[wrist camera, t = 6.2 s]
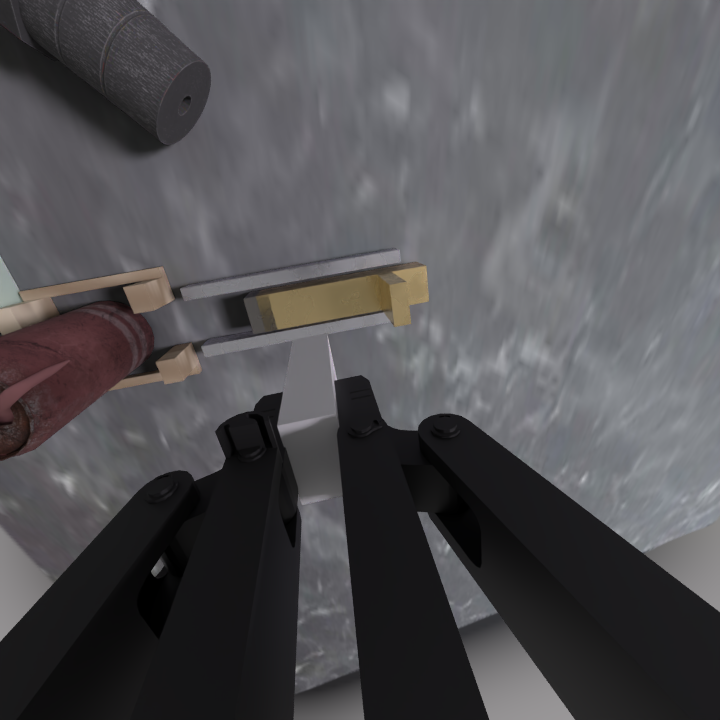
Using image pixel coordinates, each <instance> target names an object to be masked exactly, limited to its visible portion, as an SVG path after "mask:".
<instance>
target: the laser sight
mask: <svg viewBox="0 0 720 720" xmlns="http://www.w3.org/2000/svg"><path fill="white" fill-rule="evenodd" d="M0 24H1V25H3V26H4V27H5V28H6V29H8V30H9V31H10V32H11V33H13V34H14V35H15V36H17V37H18V38H19V39H20V40H22V41H23V42H25V43H26V44H28V45H30V46H31V47H33V48H34V49H36V50H38V51H39V52H41V53H43V54H44V55H46V56H47V57H49V58H51V59H52V60H54V61H56V60H59V61H61V62H62V63H63V64H64V65H65V66H67V67H68V68H69V69H70V70H71V71H73V72H74V73H75V74H77V75H78V76H79V77H80V78H82V79H83V80H84V81H86V82H87V83H88V84H90V85H91V86H92V87H93V88H95V89H96V90H97V91H98V92H100V93H101V94H102V95H104V96H105V97H106V98H107V99H108V100H109V101H110V102H112V103H113V104H114V105H115V106H117V107H118V108H119V109H121V110H122V111H123V112H125V113H126V114H127V115H129V116H130V117H131V118H132V119H134V120H135V121H136V122H137V123H139V124H140V125H141V126H142V127H143V128H144V129H146V130H147V131H148V132H150V133H151V134H152V135H154V136H155V137H156V138H157V139H158V140H159V141H161V142H162V143H163V144H166V145H171V144H174V143H176V142H178V141H180V140H181V139H182V138H183V137H185V136H186V135H187V134H188V133H189V131H190V130H191V129H192V128H193V126H194V125H195V124H196V122H197V120H198V119H199V117H200V115H201V113H202V111H203V109H204V107H205V104H206V102H207V99H208V95H209V91H210V85H211V73H210V69H209V67H208V65H207V64H206V63H205V62H204V61H202V60H201V59H200V58H199V57H198V56H197V55H196V54H194V53H193V52H192V51H191V50H190V49H189V48H188V47H187V46H186V45H185V44H183V43H182V42H181V41H180V40H179V39H178V38H177V37H176V36H175V35H174V34H173V33H171V32H170V31H169V30H168V29H167V28H166V27H165V26H164V25H163V24H162V23H161V22H160V21H159V20H158V19H157V18H155V16H154V15H152V14H151V13H150V12H149V11H148V10H146V9H145V8H144V7H143V6H142V5H141V4H140V3H139V2H138V1H137V0H0Z"/></svg>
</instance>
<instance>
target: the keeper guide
mask: <svg viewBox="0 0 720 720" xmlns="http://www.w3.org/2000/svg"><path fill="white" fill-rule="evenodd" d="M398 262H401V259H400V250H399V249H396V248H392V249H386V250H381V251H375V252H369V253H364V254H358V255H352V256H347V257H341V258H336V259H330V260H324V261H319V262H313V263H308V264H302V265H296V266H291V267H285V268H279V269H274V270H268V271H263V272H257V273H251V274H246V275H240V276H235V277H229V278H223V279H218V280H212V281H206V282H201V283H195V284H190V285H187V286H185V287H183V288H181V289H180V291H181V293H182V296H183V299H184V301H188V300H193V299H199V298H204V297H210V296H215V295H221V294H226V293H232V292H237V291H243V290H249V289H254V288H260V287H265V286H271V285H276V284H282V283H287V282H293V281H298V280H304V279H309V278H315V277H321V276H326V275H332V274H337V273H343V272H348V271H354V270H359V269H365V268H370V267H376V266H382V265H387V264H393V263H398ZM389 322H391V321H390V320H389V319H388V318H387V316H386V315H385V314H384V312H383V311H382V310H380V311H375V312H370V313H364V314H359V315H354V316H348V317H343V318H338V319H332V320H327V321H322V322H316V323H311V324H306V325H300V326H295V327H290V328H284V329H279V330H274V331H268V332H263V333H257V334H253V331H250V332H244V333H239V334H234V335H228V336H223V337H218V338H212V339H208V340H207V341H206V342H205V343H204V344H203V345H202V346H201V348H202V350H203V353H204V356H205V357H209V356H215V355H220V354H225V353H230V352H236V351H241V350H246V349H252V348H257V347H262V346H267V345H273V344H278V343H283V342H289V341H293V340H294V339H299V338H304V337H310V336H315V335H320V334H325V333H327V334H331V333H336V332H341V331H347V330H352V329H357V328H363V327H368V326H373V325H378V324H384V323H389Z"/></svg>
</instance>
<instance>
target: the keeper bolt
mask: <svg viewBox="0 0 720 720" xmlns="http://www.w3.org/2000/svg"><path fill="white" fill-rule="evenodd" d="M243 300H244V303H245V307H246V310H247V313H248V317H249V320H250V323H251V327H252V330H253V334H257V333H263V332H268V331H274V330H279V329H284V328H290V327H295V326H300V325H306V324H311V323H316V322H322V321H327V320H332V319H338V318H343V317H348V316H354V315H359V314H364V313H370V312H375V311H380V310H382V311H383V312H384V314H385V315H386V316H387V318H388V319H389V320H390V321H391V323H392V324H393V325H394V327H397V326H402V325H407V324H411V318H410V308H409V305H412V304H418V303H423V302H428V301H429V296H428V283H427V270H426V265H423V264H421V263H418V262H412V263H407V264H401V265H396V266H390V267H385V268H379V269H374V270H368V271H362V272H357V273H351V274H346V275H340V276H335V277H329V278H324V279H318V280H313V281H307V282H302V283H296V284H291V285H285V286H280V287H274V288H268V289H263V290H257V291H252V292H249V293H248V294H247V295H246V296H245V297H244V298H243Z"/></svg>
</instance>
